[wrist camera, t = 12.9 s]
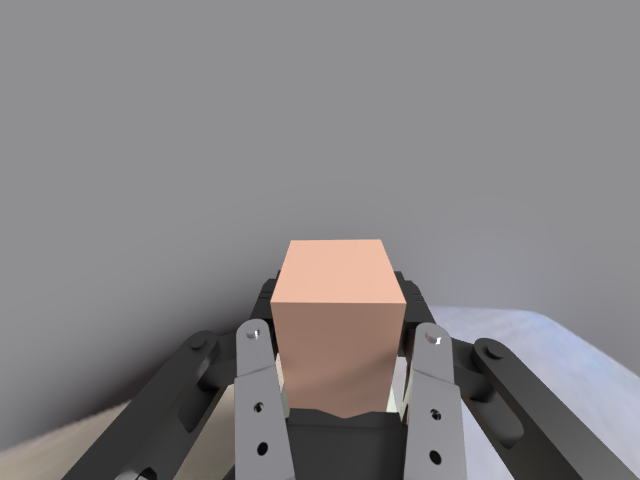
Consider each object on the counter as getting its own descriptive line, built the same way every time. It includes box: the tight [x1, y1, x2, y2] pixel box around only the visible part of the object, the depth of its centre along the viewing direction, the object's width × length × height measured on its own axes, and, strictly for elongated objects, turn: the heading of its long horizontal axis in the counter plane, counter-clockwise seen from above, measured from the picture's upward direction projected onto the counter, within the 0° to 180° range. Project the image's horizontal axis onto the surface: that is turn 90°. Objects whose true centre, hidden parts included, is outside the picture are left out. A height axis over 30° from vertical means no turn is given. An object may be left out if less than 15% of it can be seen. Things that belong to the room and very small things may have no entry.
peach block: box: [270, 240, 406, 418], centre depth 12 cm, size 4×4×12 cm
